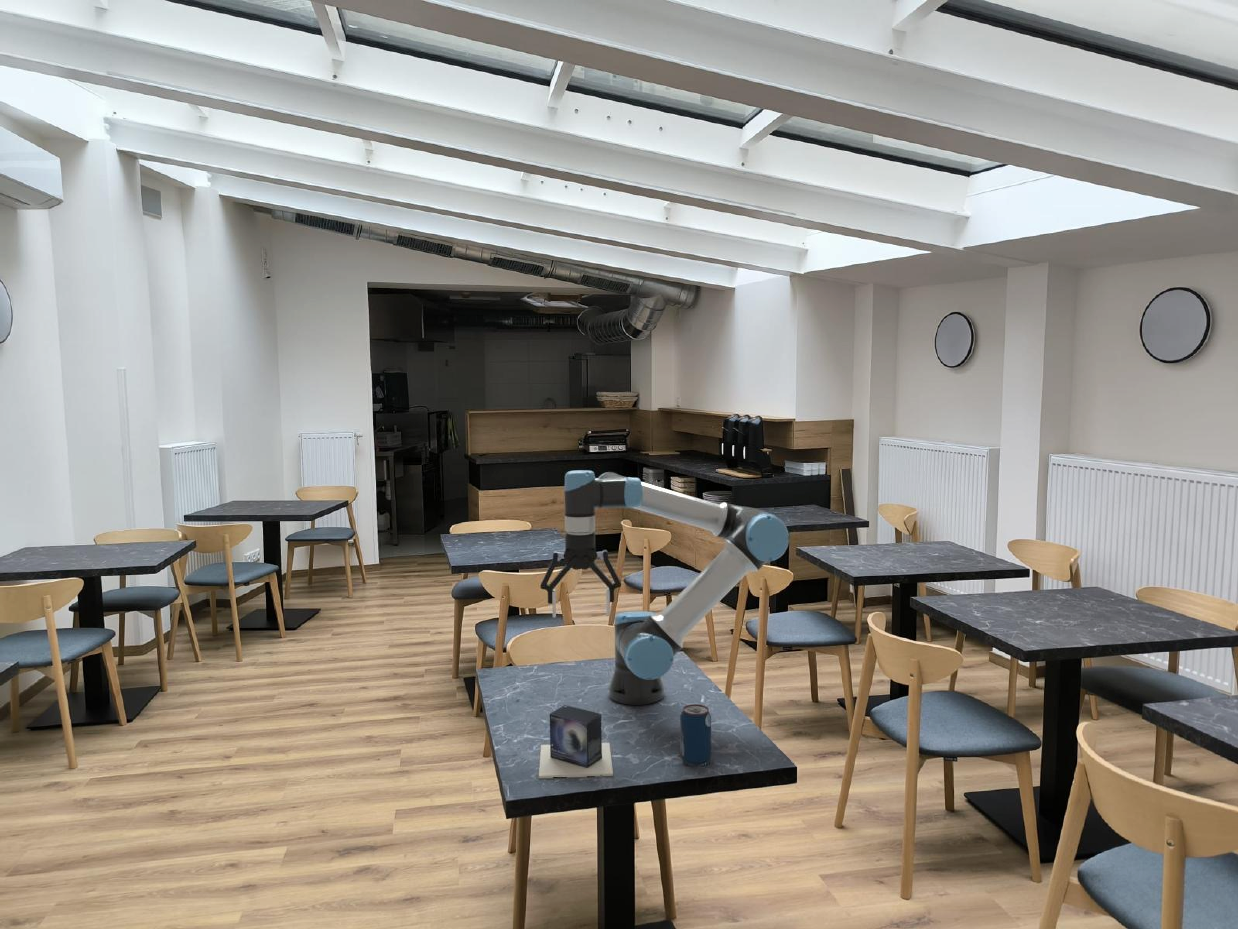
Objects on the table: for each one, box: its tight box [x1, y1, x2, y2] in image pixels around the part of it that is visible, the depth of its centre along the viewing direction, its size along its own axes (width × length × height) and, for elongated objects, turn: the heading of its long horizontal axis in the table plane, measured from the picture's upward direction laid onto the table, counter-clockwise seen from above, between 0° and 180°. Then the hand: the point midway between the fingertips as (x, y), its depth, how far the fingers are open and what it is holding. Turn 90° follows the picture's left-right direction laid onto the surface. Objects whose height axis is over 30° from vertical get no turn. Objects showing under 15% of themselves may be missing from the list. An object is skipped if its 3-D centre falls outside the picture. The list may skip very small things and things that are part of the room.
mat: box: [538, 742, 614, 779], centre depth 189 cm, size 16×16×1 cm
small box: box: [549, 704, 603, 768], centre depth 188 cm, size 11×6×10 cm, turn 58°
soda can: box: [679, 704, 712, 766], centre depth 188 cm, size 7×7×12 cm
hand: (581, 615), depth 212 cm, fingers open, 13 cm apart
